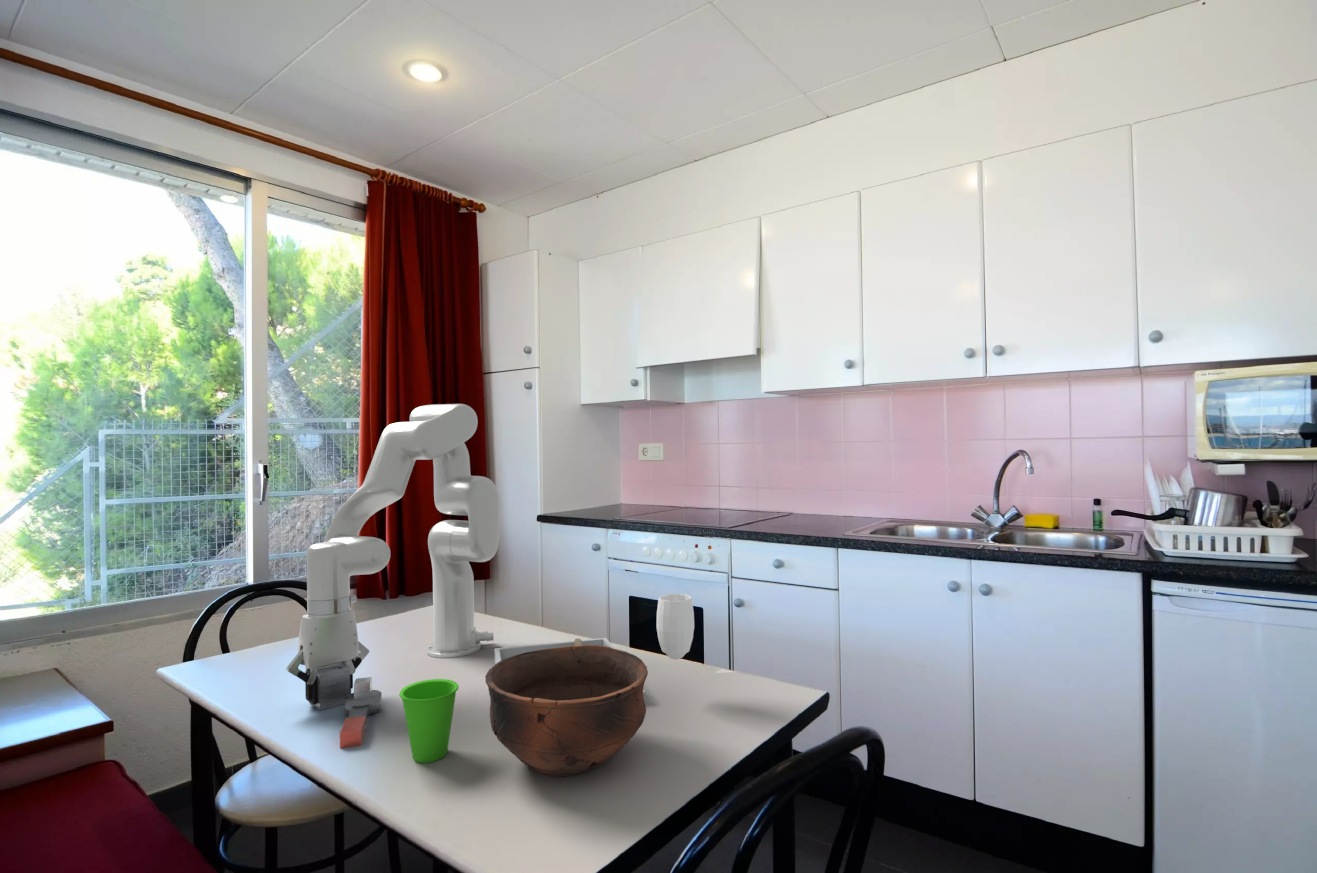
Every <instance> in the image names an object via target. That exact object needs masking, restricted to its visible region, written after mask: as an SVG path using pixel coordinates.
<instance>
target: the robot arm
mask: <svg viewBox="0 0 1317 873" xmlns="http://www.w3.org/2000/svg"><path fill="white" fill-rule="evenodd" d="M478 421H479V420H478V416H477V413H476V411H475V410H474V409H473V408H472V407H471V406H469V405H467V404H464V403H445V404H444V403H443V404H442V403H441V404H440V403H437V404H426V405H421V406H418V407H415V408H414V409H413V410H412V411H411V413H410V414H409V421H399V422H398V421H397V422H394V423H390V424H388V425H387V426H386V427H385V428H384V429H383V431H382V433H381V435H380V437H379V440H378V443H377V446H376V449H375V451H374V454H373V456H372V460H371V462H370V464H369V467H368V470H367V473H366V474H365V478H364V481H363V482H362V484H361V485H360V487H359V488H358V489H357V490H355V492H354V493H353V494H351V496H350V497H348V499H347V500H346V501H345V502H344V503H343V504H342V505H341V507H340V508H339V509H338V510H337V512H336V513H335V514H334V516H333V518H332V520H331V522H330V525H329V528H328V530H327V533H326V535H325V538H324V541H323V542H322V541H321V542H317V543H313V544H311V545H310V546H309V547H308V548H307V550H306V594H307V595H306V597H307V598H306V599H307V602H306V604H307V605H306V608H307V610H306V612H307V613H306V614H303V615H302V617H301V621H300V626H299V634H298V643H297V644H298V646H297V654H296V655H295V656H294V658H293V659H292V660H291V661H290V663H289V664H288V665H287V667H286V669H285V670H286V671H287V672H289V673H290V674H291V675H293V676H295V677H297V678H298V679H300V680H301V681H303V682H304V683H305V687H304V688H305V690H304V691H305V700H306V701H308V703H309V702H310V703H311V705H312V704H313V705H316V704H317V684H316V683H315V678H316V675H317V672H318V669H319V668H321V667H326V666H330V665H334V664H338V663H342V662H343V663H345V664H346V665H348V666H350V694H351V693H352V689H354V674H355V673H356V670H357V668H359V666H360V665H361V663H362V661H363V660H364V659H365V658H366V657H367V656H368V654H369V653H370V650H369V648H367V647H366V646H365V645H364V644H363V643H362V642H360V641H359V636H358V635H359V634H358V627H357V621H356V617H355V613H354V609H353V608H352V604H353V603H356V602H357V601H358V597H357V595H355V594H354V595H351V590H350V589H351V588H350V586H351V585H350V582H351V581H350V580H351V579H350V578H351V576H360V575H372V574H373V575H374V574H376V573H378V572H380V571H382V570H383V569H384V568H385V567H386V566H387V565H388V564H389V562H390V559H391V549H390V546H389V545H388V543H387V542H386V541H384V539H381V538H378V537H374V536H362V535H359V534H360V532H361V530H362V528H363V526H364V525H365V524H366V522H367V521H368V520H369V519H370V517H372V516H373V515H375V514H376V513H377V512H379V511H380V510H382V509H385V508H386V507H388V506H390V505H392V504H394V503H395V502H397V501H399V500H400V499H402V498H403V496H404V495H405V492H406V489H407V486H408V483H409V480H410V476H411V474H412V472H413V468H414V466H415V463H416V461H417V460H418V461H419V460H420V461H421V460H422V461H423V460H426V461H427V460H429V461H430V460H432V464H433V465H432V466H433V497H434V498H433V500H434V505H435V508H436V510H437V511H439V513H442V514H445V515H450V516H452V515H454V516H467V518H468V520H465V519H464V520H460V519H459V520H458V519H446V520H445V519H444V520H442V521H439V522H437V523H436V524H435V525H433V526H432V527H431V529H430V530H429V533H428V537H427V546H428V547H427V549H428V553H429V556H430V561H431V569H432V616H433V617H432V619H433V620H432V622H433V623H432V626H433V628H432V629H433V632H432V634H433V640H432V641H433V642H432V643H430V644H429V645H428V646H427V647H426V654H427V655H428V656H430V657H432V658H437V659H438V658H440V659H449V658H458V657H459V658H460V657H463V656H466V655H470V654H474V653H475V652H478V650H480V649H481V647H482V643H481V642H491V641H494V632H489V631H488V630H487V631H478V630H477V631H476V626H475V592H474V591H475V590H474V589H475V588H474V587H475V586H474V585H475V581H474V572H473V569H472V566H471V564H470V562H473V563H475V562H476V563H485V562H488V561H491V559H492V558H494V557H495V555H496V554H497V551H498V549H499V544H500V497H499V493H498V488H497V486H496V485H495V483H494V482H493V480H491V479H490V478H488V477H486V476H483V475H482V476H480V475H471V462H470V461H471V460H470V454H469V450H468V448H467V445H466V442H467V441H468V440H469V439H471V438H472V437H473V436H474V434H475V433H476V431H477V428H478V424H479V423H478ZM300 665H301V666H304V667H305V670H304V671H303V670H301V669H299V666H300ZM310 703H309V704H310ZM313 705H312V706H313Z"/></svg>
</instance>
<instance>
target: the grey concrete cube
mask: <svg viewBox="0 0 1317 873" xmlns="http://www.w3.org/2000/svg"><path fill="white" fill-rule="evenodd" d="M315 683H316V684H317V704H316V705H313V704H311V703H310V702H309V701H308V703H309V704H311V706H313V707H315V709H317V710H318V711H324V710H326V709H327V710H328V709H331V708H334V707H337V706H341V705H345V697H346V696H347V695H349V694H350V666H348V665H346V664H345V663H343V662H342V663H338V664H334V665H330V666H326V667H321V668H319V669H318V672H317V675H316V678H315Z"/></svg>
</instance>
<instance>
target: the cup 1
mask: <svg viewBox="0 0 1317 873" xmlns="http://www.w3.org/2000/svg"><path fill="white" fill-rule="evenodd" d="M458 690H459V684H458V683H457V681H454V680H450V679H446V678H445V679H443V678H435V679H424V680H420V681H416V682H413V683H410V684H408V685H406V686H404V687H403V688H402V689H401V690H400V691H399V697H400V698H401V699H402V700H401V701H402V704H403V705H402V706H403V710H404V711H403V712H404V715H405V716H404V717H405V721H406V726H407V733H408V738H409V744H410V750H411V755H412V758H413V760H414V761H415V762H416V763H420V764H429V763H433V762H438V761H439V760H442V758H444V757H445V756H446V755H447V753H448V749H449V743H450V737H451V735H450V734H451V728H452V721H453V713H454V707H455V700H456V695H457V694H456V692H457V691H458Z"/></svg>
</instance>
